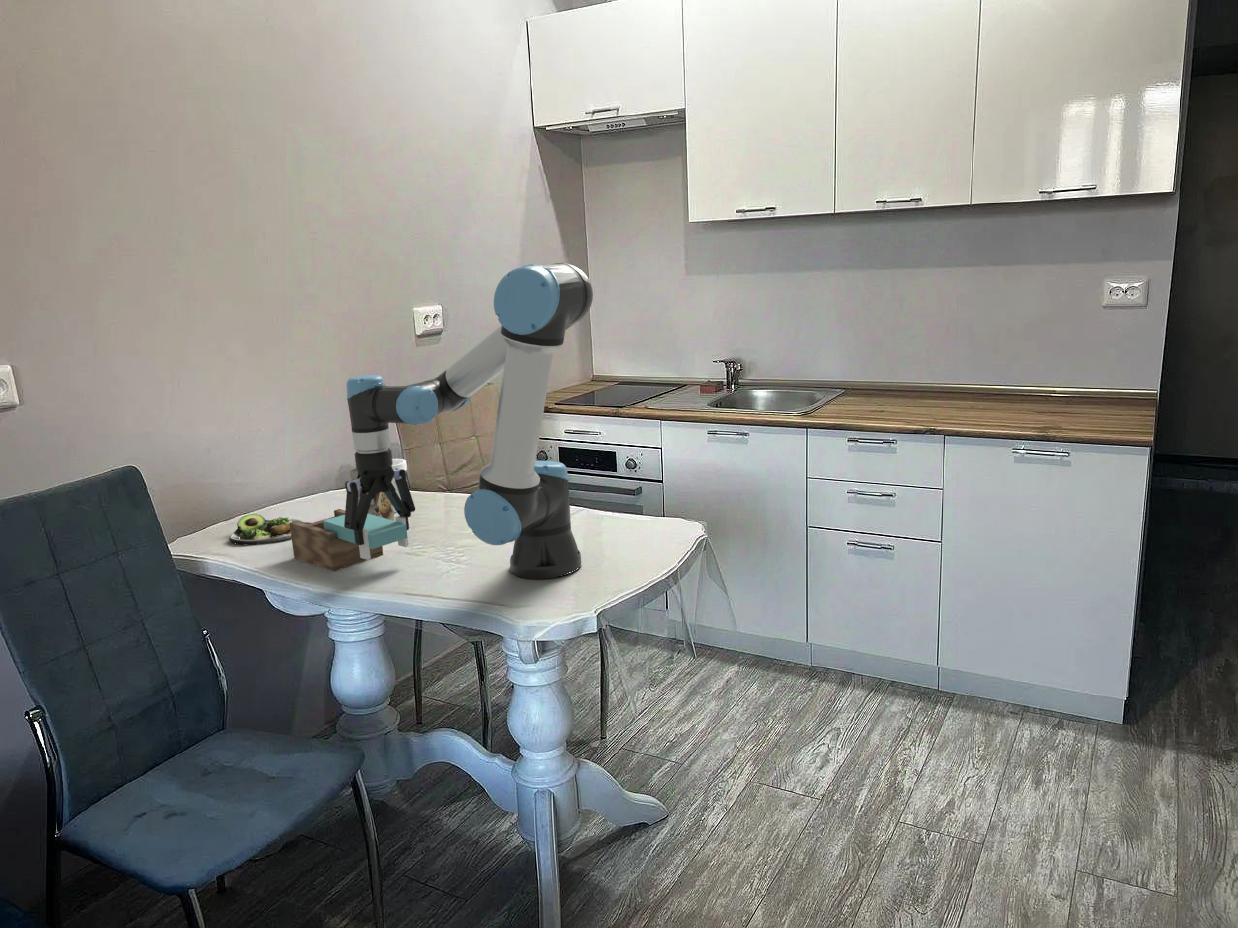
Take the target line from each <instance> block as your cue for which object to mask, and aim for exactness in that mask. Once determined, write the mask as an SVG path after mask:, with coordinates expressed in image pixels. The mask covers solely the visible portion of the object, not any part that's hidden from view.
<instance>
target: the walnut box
mask: <svg viewBox="0 0 1238 928" xmlns="http://www.w3.org/2000/svg"><path fill="white" fill-rule="evenodd" d="M342 515H345V509H341V508H338V509H334V510H333V516H332V517H328V518H325V519H322V520H317V521H314V522H310V524H304V523H301V522H297V521H294V522H290V531H291V543H292V552H293V558H294V559H295V560H298V561H302V562H305V563H308V564H311V565H314V566H316V567H320V568H322V569H326V570H329V571H331V572H336V571H339V570H342V569H344V568H348V567H350V566H354V565H356V564H360V563H363V562H367V560H366V559H363V558H360V550H359V545H357V544H355V543H352V542H349V541H346V540H343V539H340V538H337V537H335V532H332V531H329V530H325V529H324V524H323V521H324V520H327V519H331V518H334V517H338V516H342ZM383 547H384V546H381V547H378V548H374V549H370V556H371V559H370V560H372V559H375V558H378V557H381V556H384V550H383V549H384V548H383Z"/></svg>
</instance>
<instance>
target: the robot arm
mask: <svg viewBox="0 0 1238 928" xmlns="http://www.w3.org/2000/svg"><path fill="white" fill-rule="evenodd" d="M593 297H594V293H593V286H592V282H591V281H590V279H589V277H588V276H587V274H586V273H585V272H584V271H583V270H582V269H580V268H578V267H577V266H575V265H573V264H570V263H566V262H556V263H549V264H547V263H546V264H533V263H531V264H526V265H523V266H519V267H516V268H514V269H512V270H510V271H509V272H508V273H506V274H505V275H504V276H503V277H502V278H501V279H500V281H499V282H498V284H497V287H496V289H495V291H494V296H493V309H494V313H495V315H496V316H497V317H498V318H497V320H498V322H499V323H500V326H499V327H497V328H496V329H495V330H494V331H492V332H491V333H490V334H489V335H487V336H486V337H485V338H484V339H483V340H481V341H480V342H478V343H477V344H475V346H474V347H472V348H471V349H470V350H469V351H467V352H465V354H464V355H462V356H461V357H460V358H458V360H456V361H455V362H454V363H452V364H451V365H450V366H449V367H448V368H446V369H445V370H443V372H442V373H440V374H439V375H438V376H437V377H435V378H434V377H433V378H431V379H428V380H425V381H420V382H415V383H411V384H407V385H400V386H398V385H397V386H395V385H394V386H391V385H390V386H389V385H385V383H384V378H383V377H382V375H378V374H368V375H367V374H365V375H357V376H353V377H350V378H349V379H347V381H346V400H347V405H348V406H347V407H348V410H349V419H350V426H351V435H352V436H351V437H352V442H353V443H352V445H353V449H354V450H355V453H354V462H355V469H356V468H357V471H358V477H357V479H356V480H354V481H351V480H350V481H349V480H347V481H345V482H344V487H345V491H346V497H345V498H346V499H345V509H344V510H345V522H344V527H345V528H348V529H352V530H354V536H355V543H356V544H357V545H359V550H360V558H363V559H366V561H369V560H372V559H371V556H370V548H369V540H368V531H367V529H364V525H365V521H366V518H367V514H368V511H369V507H370V504H371V500H372V499H373V498H374V495H375V494H378V493H380V492H384V493H385V494H386V496H387V497H388V499H389V501H390V502H391V504H392V505H393V507H394V509H395V510H396V512H397V515H396V516H394V519H395V522H399V523H402V524H406V526H407V531H409V529H410V524H409V523H410V522H409V518H410V517H411V516H412V513H413V512H415V511H416V506H415V503H414V500H413V497H412V494H411V491H410V488H409V486H408V481H407V470H406V471H405V470H403V469H395V470H393V469H392V465H393V461H392V459H393V452H392V449H390V447H391V445H392V443H391V436H390V428H389V423H390V424H405V425H406V424H407V425H411V426H413V425H425V424H428V423H431V422H432V421H433V419H434V418H435V417H436V416H438V415H442V414H445V413H449V412H456V411H457V410H459V409H461V408H464V407H466V405H467V404H468V403H469V401H470V399H471V397H472V396H473V395H474V394H475V393H476V392H478V391H480V389H481V388H483V387H484V386H486V385H488V383H490V382H492V380H493V379H495V378H496V377H498V376H499V375H501V373H502V379H501V385H500V392H499V401H498V406H497V412H496V414H497V415H496V419H495V426H494V427H495V428H494V431H493V439H492V440H493V441H492V446H491V447H492V448H491V453H490V459H489V463H487V464H486V465H484V466H483V467H482V468H481V469H480V472H479V473H480V475H479V479H478V487H477V489H475V490H474V491H473V492H471V493H470V495H469V496H468V497H467V498H466V500H465V503H464V507H463V508H464V510H463V513H464V514H463V515H464V518H465V522H466V524H467V527H468V528H470V529H471V531H472V533H473V535H474V536H475V537H476V538H477V539H478V540H480V541H481V542H483V543H485V544H487V545H492V546H503V545H506V544H507V543H512V542H514V543H513V548H512V549H513V550H512V554H511V556H510V558H509V563H510V565H509V566H510V567H509V569H510V573H512V575H515V576H517V577H520V578H523V579H529V580H542V579H543V580H545V578H548V579H553V577H556V578H559V577H558V576H561V575H565V574H567V573H569V572H572V571H574V570H576V569H577V568H579V567H580V565H581V563H582V554H581V552H580V550H579V548H578V545H577V542H576V540H575V537H574V534H573V532H572V522H571V508H570V507H571V504H570V503H571V501H570V488H569V487H570V486H569V483H570V480H569V477H568V469H567V466H566V465H565V464H564V463H562V462H559V461H553V460H536V459H537V454H538V446H539V441H540V435H541V429H542V423H543V418H544V417H543V416H544V412H545V411H544V410H545V406H546V398H547V394H548V388H549V380H550V375H551V369H552V363H553V357H554V352H555V351H557V350H558V349H560V348H561V347H563V345H564V340H565V335H566V331H568V329H569V328H571V327H572V326H574V325H575V324H577V323H578V322H580V321H581V320H583V318H584V317H586V315H587V314H588V312H589V311H590V309H591V307H592V303H593V300H594V299H593ZM393 477H394V479H395V482H396V485H397V488H398V491H399V494H400V498H401V499H400V498H399V496H398V494H397V493H396V491H395V490H396V489H395V488H394V486H393V484H392V483H391V482H392V479H393ZM359 485H360V486H361V487H362V488H361V492H360V500H359V504H358V490H359ZM367 493H368V494H367ZM357 506H358V507H357ZM408 539H409V537H408V538H406V539H403V540H399V541H397V545H398V546H400V547H403V548H408V547H409V540H408ZM581 566H582V565H581ZM580 568H581V567H580ZM580 568H579V569H580ZM565 576H566V575H565ZM561 577H562V576H561Z"/></svg>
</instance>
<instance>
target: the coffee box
mask: <svg viewBox="0 0 1238 928" xmlns="http://www.w3.org/2000/svg"><path fill="white" fill-rule="evenodd" d="M349 471H350V472H349V473H350V482H351V481H354V480H356V479H357V477H358V471H357V468H356V467H355V468H353V469H352V470H349ZM361 488H362V487H361V486H360V485H359V490H358V504H359V500H360V492H361ZM367 494H368V493H367ZM357 507H358V506H357ZM368 514H371V515H374V516H378V517H381V518H385V519H388V520H392V521H395V513H394V510H393V505H392V504H391V502H390V501H389V499H388V497H387V496H386V494H385V493H384V492H380V493H378V494H375V495H374V498H373V499H372V500H371V504H370V507H369V511H368ZM395 522H396V521H395Z"/></svg>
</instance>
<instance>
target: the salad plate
mask: <svg viewBox="0 0 1238 928" xmlns="http://www.w3.org/2000/svg"><path fill="white" fill-rule="evenodd" d="M294 521H297V522H301V523H304V524H310V523H311V522H308V521H302V520H301V519H297V518H296V519H295V518H291V519H289V517H281V516H280V517H278V518H273V519H271V520H270V519H265V517H264V516H262V515H260V514H257V513H251V514H245V515H244V516H242V517H241V518H240V519H238V521H237V523H236V525H237V529H235V531H234V532H233V533H232V534H231V535H230V537H229V541H230V542H231V543H232V544H234V543H236V544H235V545H238V544H252V545H258V544H257V543H261V544H269V542H270V543H275V542H283V541H286V540H287V541H288V540H292V538H291V531H290V522H294ZM283 534H287V535H283ZM277 535H281V536H277ZM272 536H274V537H272ZM239 537H240V539H239ZM270 537H271V538H270ZM268 538H269V539H268Z"/></svg>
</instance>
